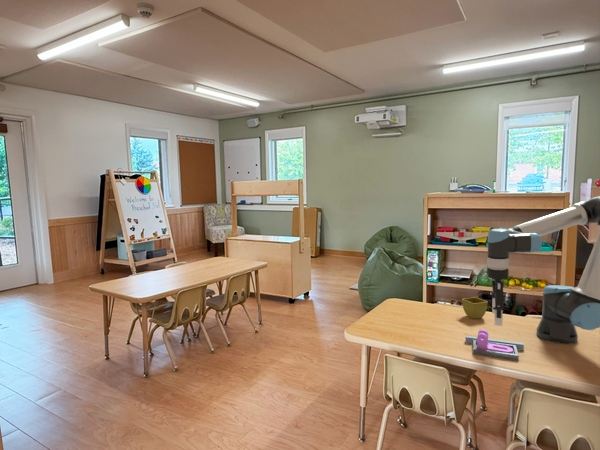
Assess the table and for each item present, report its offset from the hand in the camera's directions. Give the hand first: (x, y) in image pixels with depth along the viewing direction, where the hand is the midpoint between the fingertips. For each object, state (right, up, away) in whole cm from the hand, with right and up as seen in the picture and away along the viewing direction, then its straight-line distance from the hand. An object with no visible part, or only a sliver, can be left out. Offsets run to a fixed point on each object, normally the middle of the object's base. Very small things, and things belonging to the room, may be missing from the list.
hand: (497, 319), depth 155 cm
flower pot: (+9, -9, +40) cm, 42 cm away
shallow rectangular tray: (0, -14, +2) cm, 14 cm away
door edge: (+2, -13, +8) cm, 15 cm away
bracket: (0, -13, +2) cm, 13 cm away
